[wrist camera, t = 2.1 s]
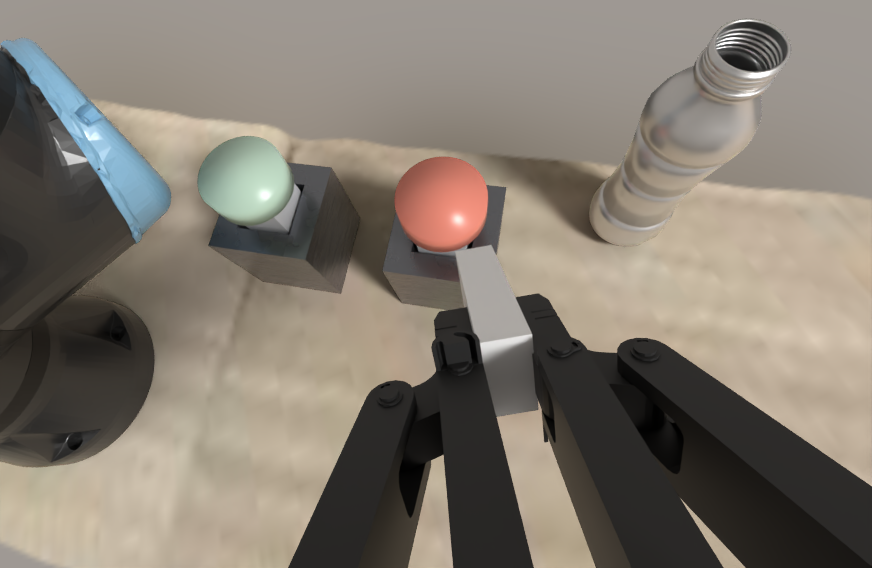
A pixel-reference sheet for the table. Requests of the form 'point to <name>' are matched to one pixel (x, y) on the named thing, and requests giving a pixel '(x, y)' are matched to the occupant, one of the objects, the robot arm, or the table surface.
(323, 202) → the green button post
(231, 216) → the green button
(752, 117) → the plastic bottle
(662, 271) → the table surface
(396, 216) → the red button post
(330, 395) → the table surface
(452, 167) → the red button
